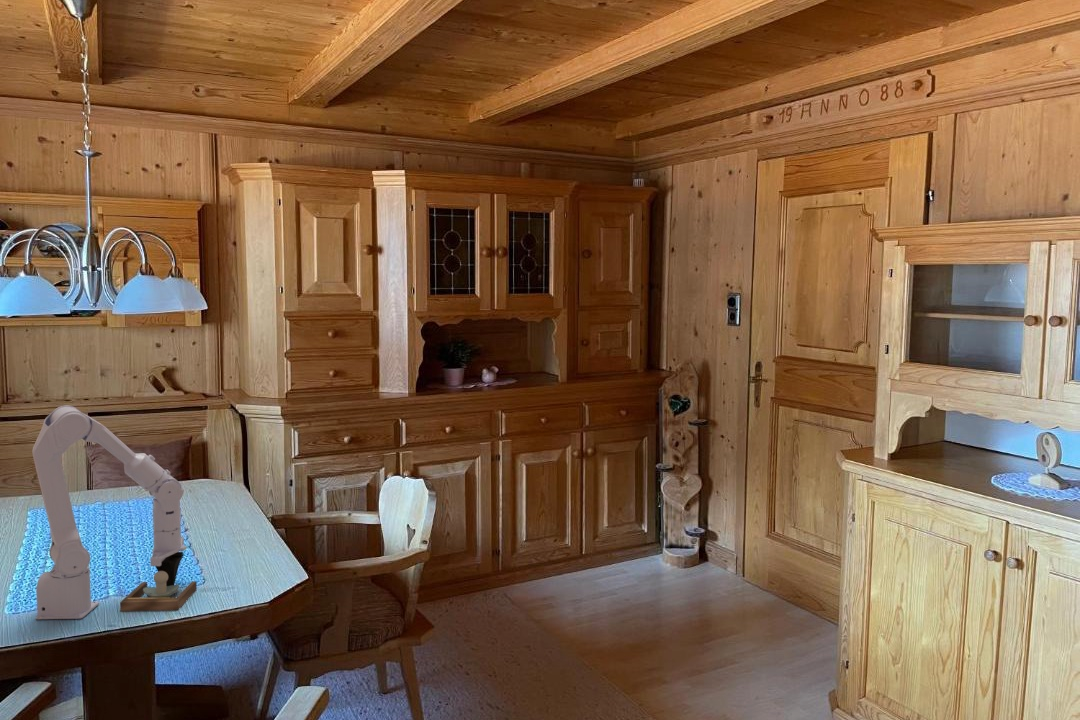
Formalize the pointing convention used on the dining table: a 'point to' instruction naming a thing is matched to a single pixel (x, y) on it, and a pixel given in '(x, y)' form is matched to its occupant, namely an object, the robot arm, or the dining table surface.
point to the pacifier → (161, 586)
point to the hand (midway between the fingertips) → (168, 585)
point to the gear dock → (155, 600)
